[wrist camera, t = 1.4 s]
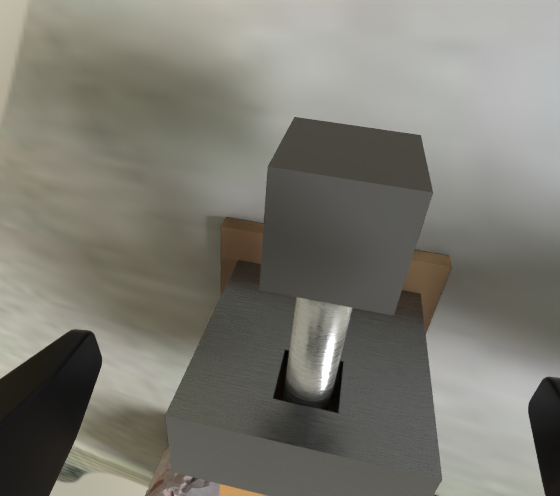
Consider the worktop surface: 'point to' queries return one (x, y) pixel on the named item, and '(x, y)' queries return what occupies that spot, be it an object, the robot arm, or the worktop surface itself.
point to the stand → (302, 419)
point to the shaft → (338, 237)
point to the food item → (178, 482)
